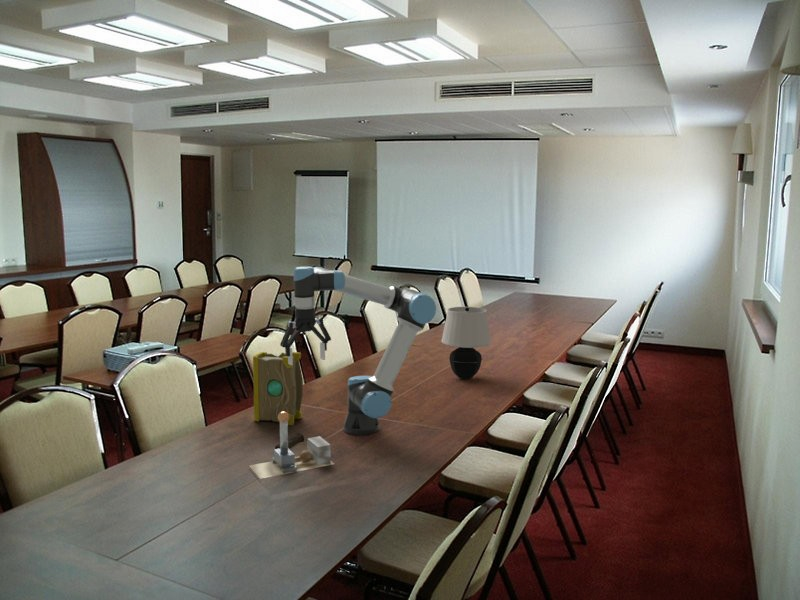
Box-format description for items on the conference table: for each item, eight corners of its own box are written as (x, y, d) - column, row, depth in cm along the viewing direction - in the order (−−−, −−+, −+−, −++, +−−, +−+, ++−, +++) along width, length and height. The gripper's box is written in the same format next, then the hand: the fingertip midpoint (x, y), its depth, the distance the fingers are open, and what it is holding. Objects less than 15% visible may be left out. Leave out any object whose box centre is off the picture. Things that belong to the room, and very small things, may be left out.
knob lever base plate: (320, 455, 255) (320, 434, 254) (334, 467, 244) (334, 445, 242) (248, 469, 241) (248, 447, 240) (260, 482, 230) (259, 459, 229)
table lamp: (464, 370, 386) (466, 301, 380) (499, 380, 366) (502, 308, 360) (430, 377, 369) (431, 306, 363) (465, 388, 349) (467, 313, 343)
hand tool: (296, 441, 270) (296, 430, 269) (304, 443, 268) (304, 432, 267) (268, 458, 253) (268, 446, 252) (277, 459, 251) (276, 448, 250)
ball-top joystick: (284, 458, 247) (284, 405, 244) (296, 470, 237) (296, 415, 234) (271, 460, 245) (271, 407, 242) (283, 472, 234) (282, 417, 231)
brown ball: (309, 458, 248) (308, 447, 247) (313, 462, 244) (312, 451, 243) (297, 461, 246) (297, 450, 245) (302, 465, 242) (301, 454, 241)
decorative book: (251, 421, 292) (250, 354, 288) (262, 413, 303) (261, 349, 299) (294, 425, 288) (294, 358, 284) (304, 417, 299) (304, 352, 294)
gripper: (329, 302, 263) (331, 355, 267) (270, 309, 250) (272, 364, 254) (338, 305, 257) (340, 359, 261) (277, 312, 244) (280, 368, 247)
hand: (306, 361), depth 257 cm, fingers open, 13 cm apart
